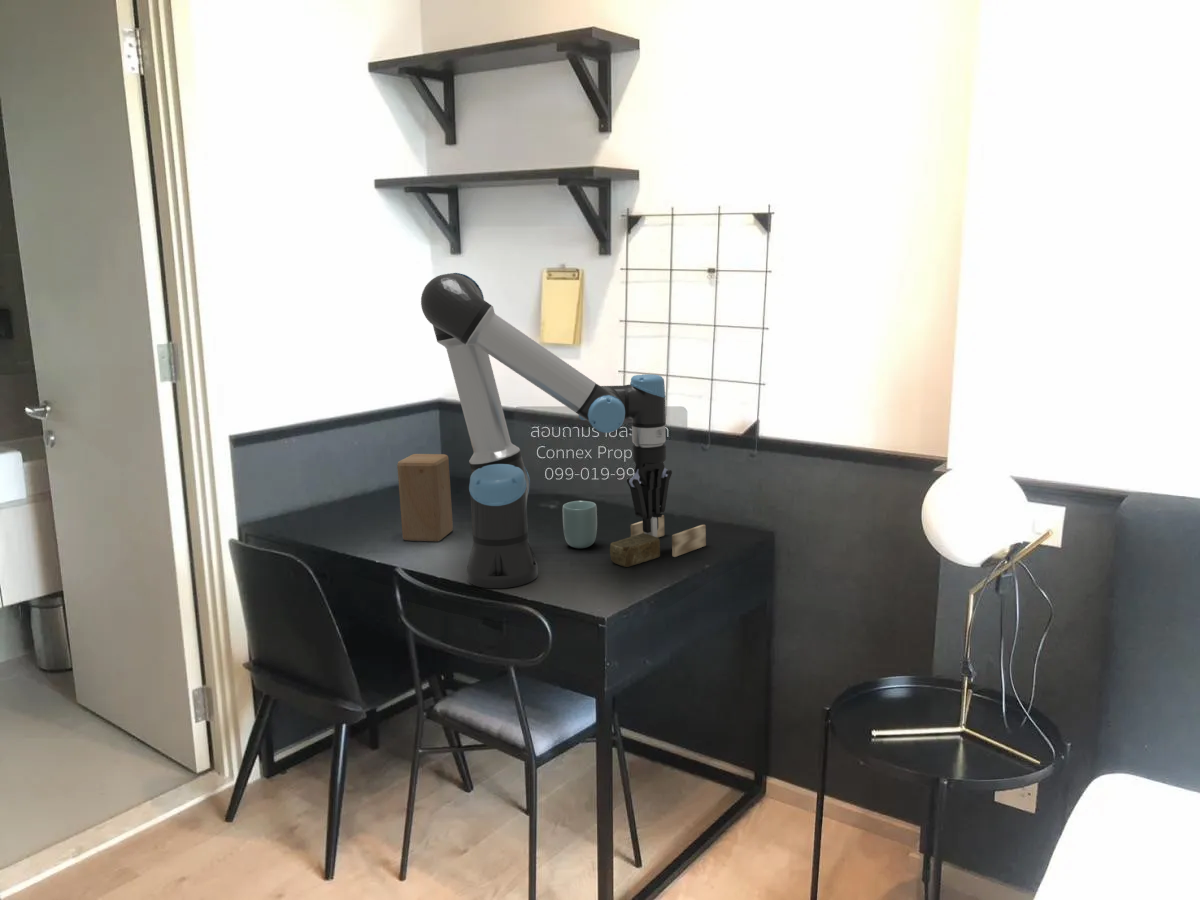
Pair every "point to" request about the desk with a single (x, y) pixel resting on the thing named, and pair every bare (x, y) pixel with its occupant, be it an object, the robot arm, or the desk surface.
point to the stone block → (635, 550)
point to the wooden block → (425, 497)
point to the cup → (580, 523)
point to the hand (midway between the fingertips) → (650, 544)
